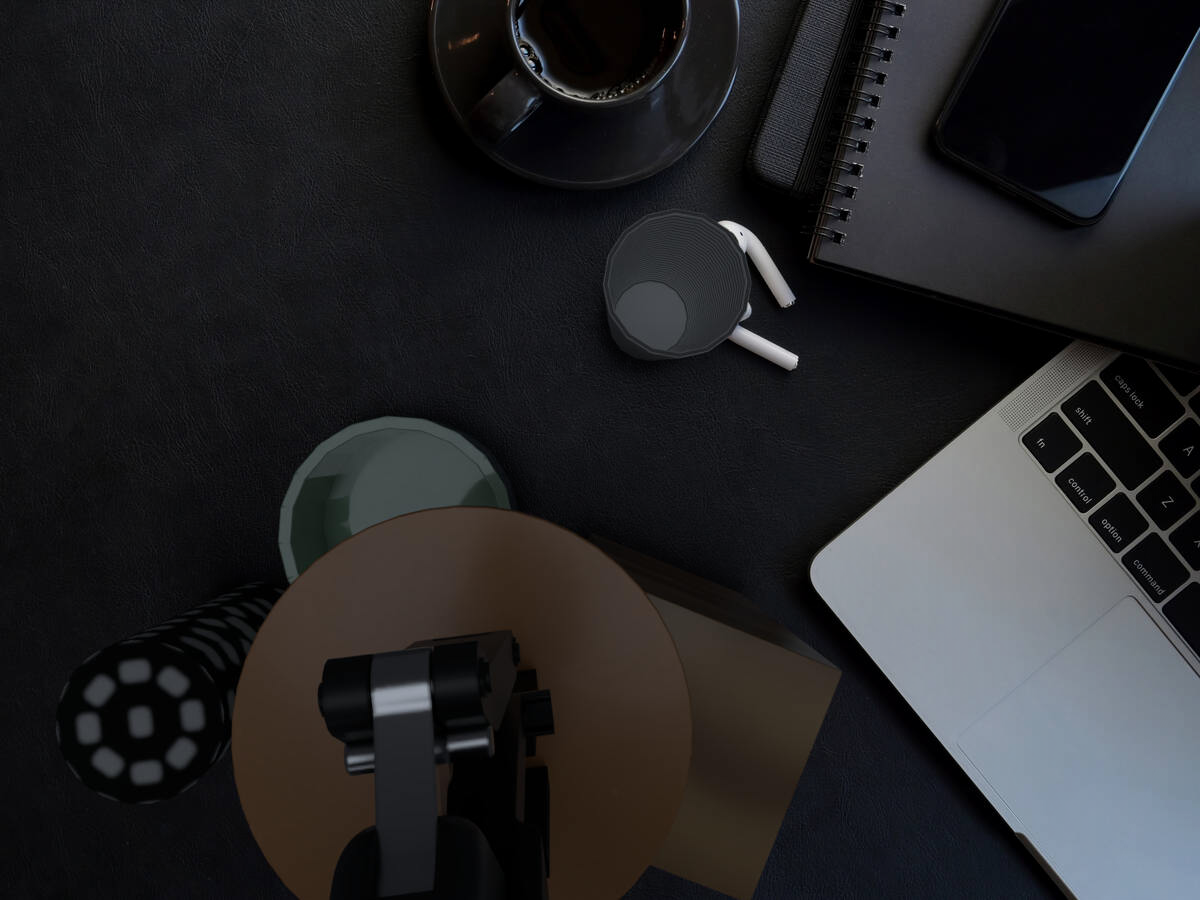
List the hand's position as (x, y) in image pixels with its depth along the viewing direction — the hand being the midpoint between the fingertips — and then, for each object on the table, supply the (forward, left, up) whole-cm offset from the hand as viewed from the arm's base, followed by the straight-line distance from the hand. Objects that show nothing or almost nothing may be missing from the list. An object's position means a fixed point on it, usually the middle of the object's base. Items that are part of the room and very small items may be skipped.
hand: (502, 734), depth 31 cm
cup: (+21, -1, -37) cm, 42 cm away
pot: (+1, +9, -37) cm, 38 cm away
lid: (-1, +1, -1) cm, 2 cm away
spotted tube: (-11, +16, -37) cm, 42 cm away
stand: (-1, -9, -37) cm, 38 cm away
